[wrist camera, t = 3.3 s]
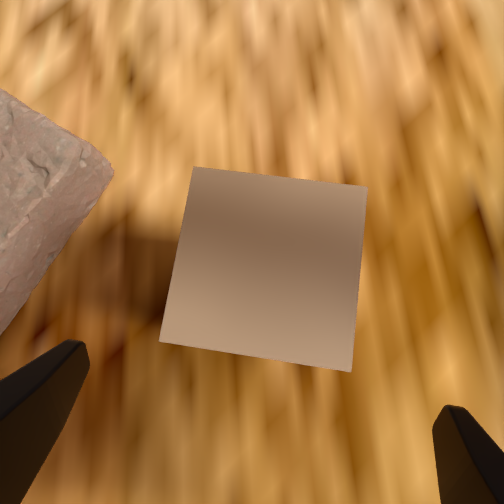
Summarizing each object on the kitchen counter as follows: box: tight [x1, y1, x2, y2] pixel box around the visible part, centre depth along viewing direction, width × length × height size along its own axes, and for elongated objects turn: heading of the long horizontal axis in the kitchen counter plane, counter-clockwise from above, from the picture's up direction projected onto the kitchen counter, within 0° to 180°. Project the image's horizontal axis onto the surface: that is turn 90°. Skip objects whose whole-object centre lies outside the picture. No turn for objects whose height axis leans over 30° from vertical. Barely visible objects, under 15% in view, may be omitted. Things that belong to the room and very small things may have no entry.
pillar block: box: [159, 166, 368, 372], centre depth 15 cm, size 5×5×10 cm
